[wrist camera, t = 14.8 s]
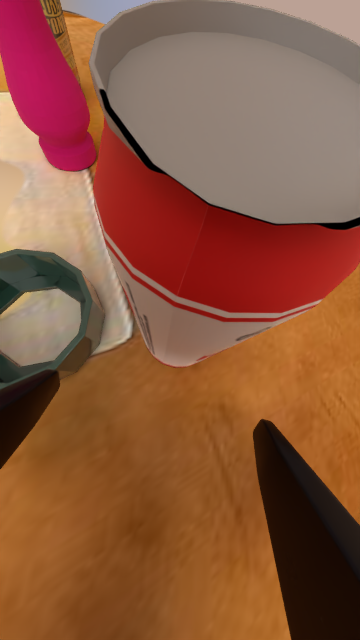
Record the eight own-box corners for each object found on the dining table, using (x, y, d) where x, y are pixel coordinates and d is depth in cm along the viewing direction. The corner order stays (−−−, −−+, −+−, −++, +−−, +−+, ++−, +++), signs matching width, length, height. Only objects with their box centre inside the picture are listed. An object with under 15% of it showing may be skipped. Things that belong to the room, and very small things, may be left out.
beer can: (217, 322, 19) (470, 71, 3) (193, 380, 16) (557, 390, 1) (163, 296, 19) (175, -41, 4) (133, 350, 17) (-117, 85, 2)
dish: (126, 311, 18) (119, 295, 15) (40, 415, 14) (5, 426, 11) (42, 255, 19) (17, 228, 16) (-59, 340, 15) (-118, 330, 12)
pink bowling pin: (62, 132, 25) (-228, -608, 6) (110, 149, 25) (-42, -553, 6) (30, 162, 23) (-593, -887, 4) (83, 181, 23) (-302, -804, 4)
